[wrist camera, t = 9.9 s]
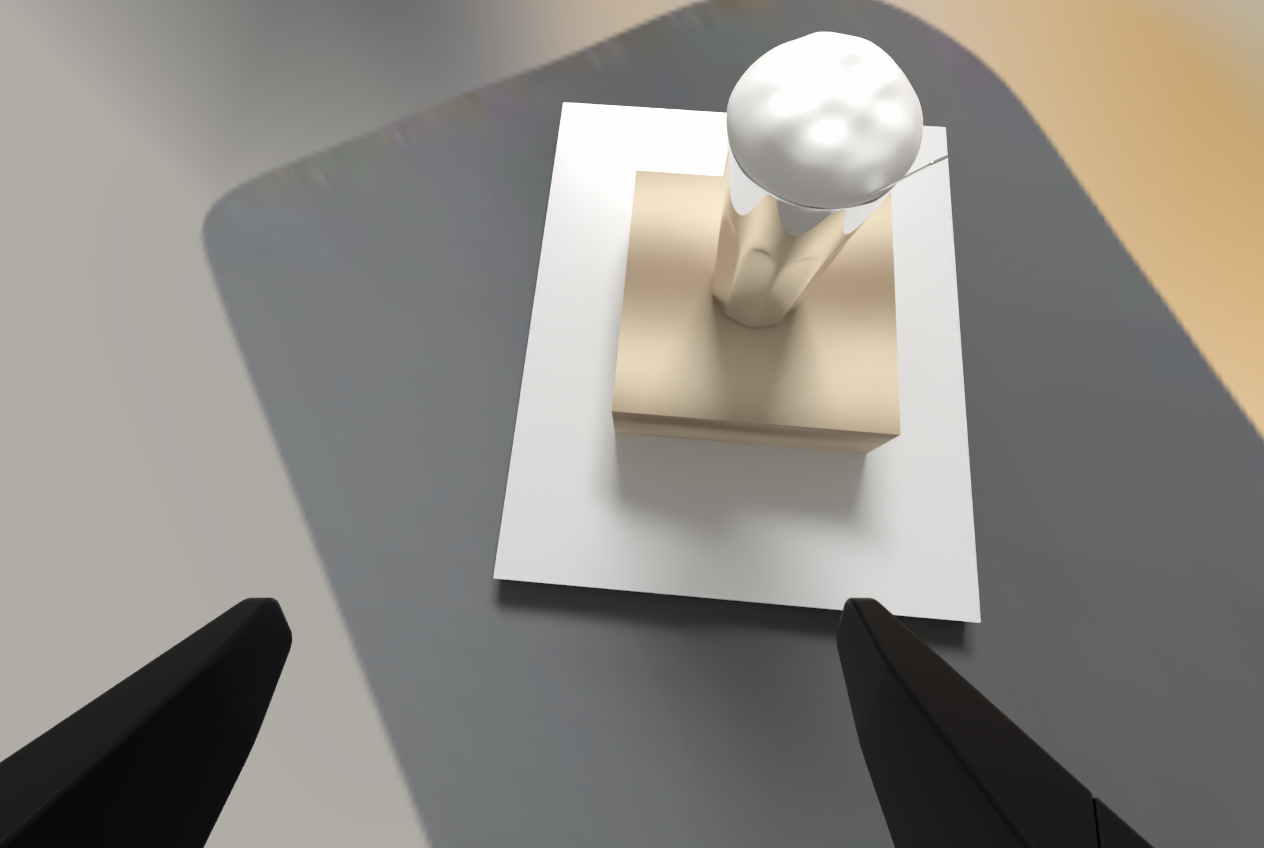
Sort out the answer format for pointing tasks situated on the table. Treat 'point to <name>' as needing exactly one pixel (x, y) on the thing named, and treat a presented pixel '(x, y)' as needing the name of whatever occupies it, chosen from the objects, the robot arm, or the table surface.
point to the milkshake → (807, 166)
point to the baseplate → (724, 471)
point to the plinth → (752, 336)
